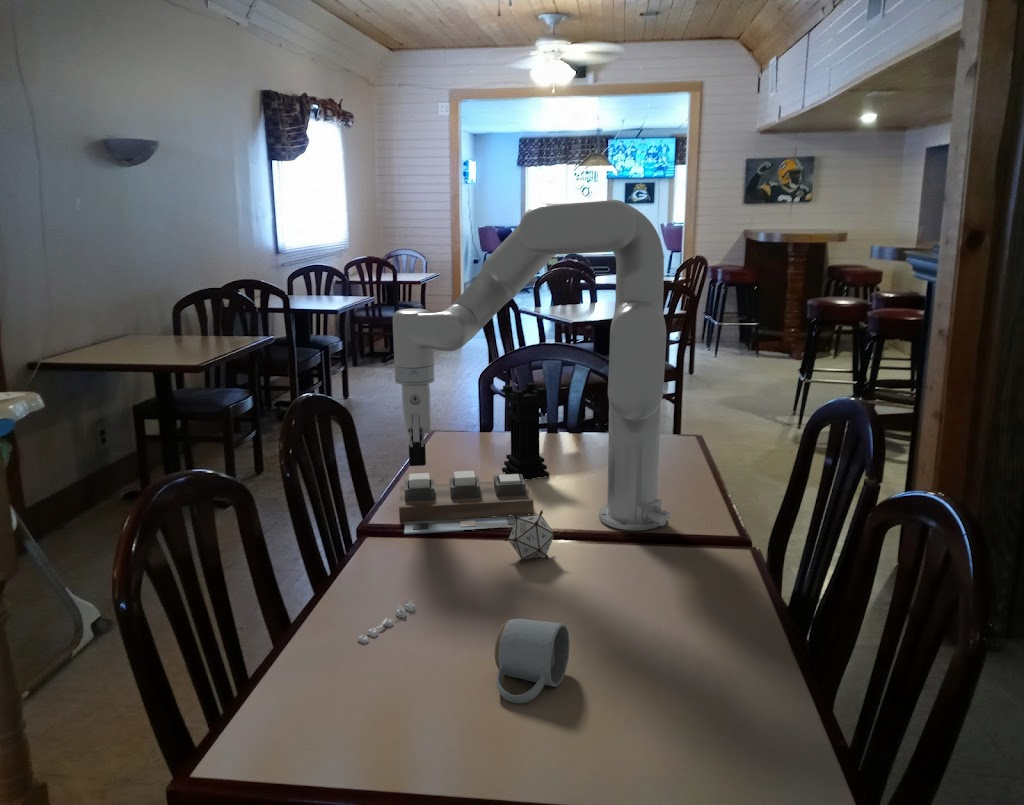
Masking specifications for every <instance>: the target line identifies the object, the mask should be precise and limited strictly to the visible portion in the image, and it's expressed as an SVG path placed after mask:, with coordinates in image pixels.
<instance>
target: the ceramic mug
mask: <svg viewBox="0 0 1024 805" xmlns="http://www.w3.org/2000/svg"><path fill="white" fill-rule="evenodd" d="M570 645H571V644H570V634H569V630H568V627H567V625H566V624H564V623H560V622H554V621H553V622H552V621H542V620H532V619H525V618H513V619H508V620H506V621H505V622H504V623H502V625H501V626H500V628H499V630H498V633H497V636H496V640H495V644H494V660H495V665H496V667H497V669H498V671H497V673H496V687H497V689H498V692H499V694H500V696H501V697H502V698H503V699H504V700H505V701H507V702H509V701H510V703H513V704H517V703H518V704H526V703H528V702H531V701H532V700H534V699H535V698H536V697H537V696H539V694H540V693H541V691H542V690H543V689H544V686H546V687H547V686H548V687H552V688H555V687H558V686H559V685H560V684H561V682H562V680H563V678H564V677H565V674H566V671H567V667H568V663H569V659H570ZM505 675H506V676H508V677H512V678H515V679H516V678H517V679H521V680H525V681H528V682H532V683H535V684H534V685H533V686H532V687H531V688H530V689H529V690H527V691H526V692H522V693H520V694H516V695H515V694H511V692H509V691H508V690H506V689H505V688H504V686H502V685H503V679H504V678H505ZM518 704H517V705H518Z"/></svg>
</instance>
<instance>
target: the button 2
mask: <svg viewBox="0 0 1024 805" xmlns="http://www.w3.org/2000/svg"><path fill="white" fill-rule="evenodd" d="M512 483H520V478H519V475H518V474H499V484H512Z"/></svg>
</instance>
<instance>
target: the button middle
mask: <svg viewBox="0 0 1024 805" xmlns="http://www.w3.org/2000/svg"><path fill="white" fill-rule="evenodd" d="M475 477H476V476H475V471H474V470H462V471H453V478H454V483H455V486H472V485H475Z"/></svg>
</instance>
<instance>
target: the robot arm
mask: <svg viewBox="0 0 1024 805" xmlns="http://www.w3.org/2000/svg"><path fill="white" fill-rule="evenodd" d="M611 252H613V254H614V257H615V263H616V264H615V265H616V266H615V268H616V269H615V273H616V274H615V303H614V311H613V317H612V320H611V324H610V330H609V331H610V332H609V333H610V334H609V355H608V356H609V358H608V360H609V361H608V381H607V383H608V384H607V398H608V402H609V403H608V441H607V442H608V444H607V446H608V448H607V454H608V455H607V502H606V503H607V504H605V505H603V506H602V507H601V508H600V509H599V512H598V517H599V520H600V521H601V522H602V523H603V524H604V525H606V526H609V527H611V528H614V529H618V530H622V531H648V530H653V529H655V528H658V527H660V526H661V527H662V526H665V525H666V523H667V521H668V520H669V519H670V517H671V512H670V511H667V510H664V509H662V499H659V498H658V495H659V494H658V493H659V492H658V490H659V467H660V466H659V465H660V464H659V463H660V461H659V460H660V439H661V437H660V436H661V408H662V407H661V406H662V405H661V403H662V401H663V397H664V384H665V382H664V381H665V372H666V371H665V369H666V367H665V366H666V352H667V351H666V349H667V325H666V321H665V316H664V289H665V288H664V287H665V286H664V279H665V276H664V274H665V258H664V256H665V255H664V249H663V245H662V241H661V238H660V236H659V233H658V232H657V229H656V227H655V226H654V225H653V223H652V222H651V220H649V218H647V216H646V215H645V214H643V213H642V212H641V211H639V210H638V209H637V208H635V207H633V206H632V205H630V204H628V203H626V202H624V201H622V200H618V199H607V200H598V201H585V202H571V203H539V204H536V205H534V206H532V207H530V208H528V210H527V211H526V212H525V213H524V214H523V215H522V218H521V220H520V223H519V224H518V225H517V226H516V227H515V228H514V229H513V231H512V232H511V233H510V234H508V236H507V237H506V238H505V239H504V240H503V241H502V242H501V243H500V244H499V245H498V246H497V248H496V249H495V250H493V252H491V253H490V255H488V256H487V258H486V259H485V261H484V262H483V264H482V266H481V269H480V270H479V273H478V274H477V276H476V277H475V279H474V280H473V281H472V283H471V284H470V285H469V286H468V287H467V288H466V289H464V291H463V292H462V294H460V296H459V297H458V298H456V300H455V301H453V303H452V304H451V305H450V306H449V307H447V308H445V309H444V310H442V311H439V312H430V311H429V310H427V309H424V308H423V309H422V308H405V309H403V308H402V309H399V310H396V311H395V312H394V313H393V316H392V335H393V336H392V337H393V359H394V360H393V361H394V366H393V367H394V383H396V384H399V385H401V400H402V413H403V422H404V430H405V434H406V435H408V436H409V444H408V458H409V459H408V461H409V464H408V465H409V466H410V467H420V466H421V467H423V466H426V465H427V463H426V462H427V458H426V456H427V455H426V443H425V436H424V434H427V435H430V434H431V433H432V415H431V414H432V413H431V390H430V384H432V383H434V381H435V359H434V358H435V353H434V350H435V351H439V352H440V351H441V352H455V351H458V350H460V349H461V348H463V347H464V346H465V345H466V344H467V343H468V342H469V341H471V340H472V339H473V338H474V337H476V335H477V334H478V333H479V332H480V331H481V330H482V329H483V328H484V327H485V326H486V325H487V324H488V323H489V322H490V320H491V319H492V318H493V317H494V316H495V315H496V314H497V313H498V312H499V311H500V310H501V309H502V308H503V307H505V305H506V304H507V303H509V301H511V300H512V299H514V298H515V297H516V296H517V295H518V294H519V293H520V292H521V291H522V290H523V289H524V288H525V287H526V286H527V285H528V284H529V283H530V282H531V281H532V279H534V277H536V275H537V274H538V273H539V272H540V271H542V269H543V268H544V267H545V266H546V265H547V264H548V263H549V262H550V261H551V260H552V259H553V258H554V257H555V256H556V255H577V254H595V253H611Z"/></svg>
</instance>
